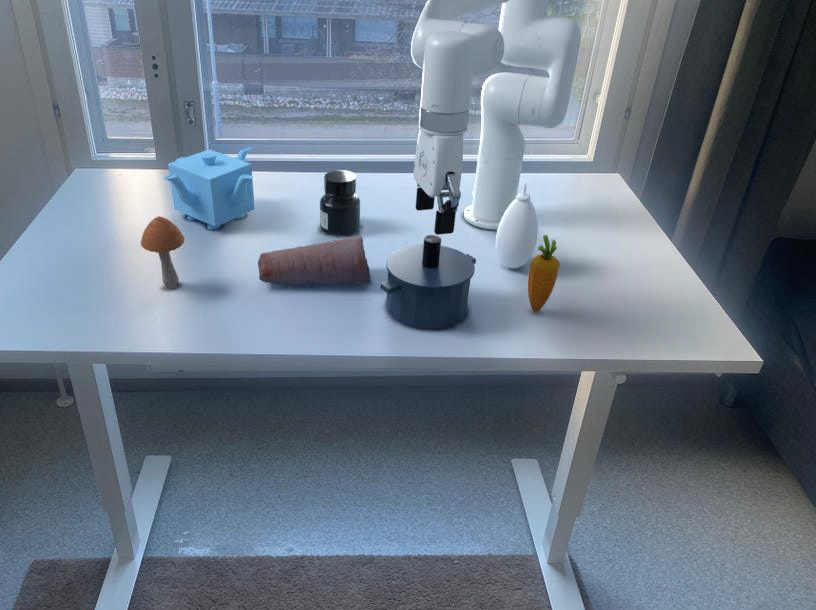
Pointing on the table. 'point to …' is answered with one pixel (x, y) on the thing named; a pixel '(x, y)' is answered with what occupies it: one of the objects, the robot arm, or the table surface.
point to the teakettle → (212, 186)
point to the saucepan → (426, 304)
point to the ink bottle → (340, 204)
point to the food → (317, 263)
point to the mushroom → (163, 246)
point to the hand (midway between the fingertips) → (433, 220)
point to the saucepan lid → (430, 265)
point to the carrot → (542, 275)
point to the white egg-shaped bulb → (517, 232)
